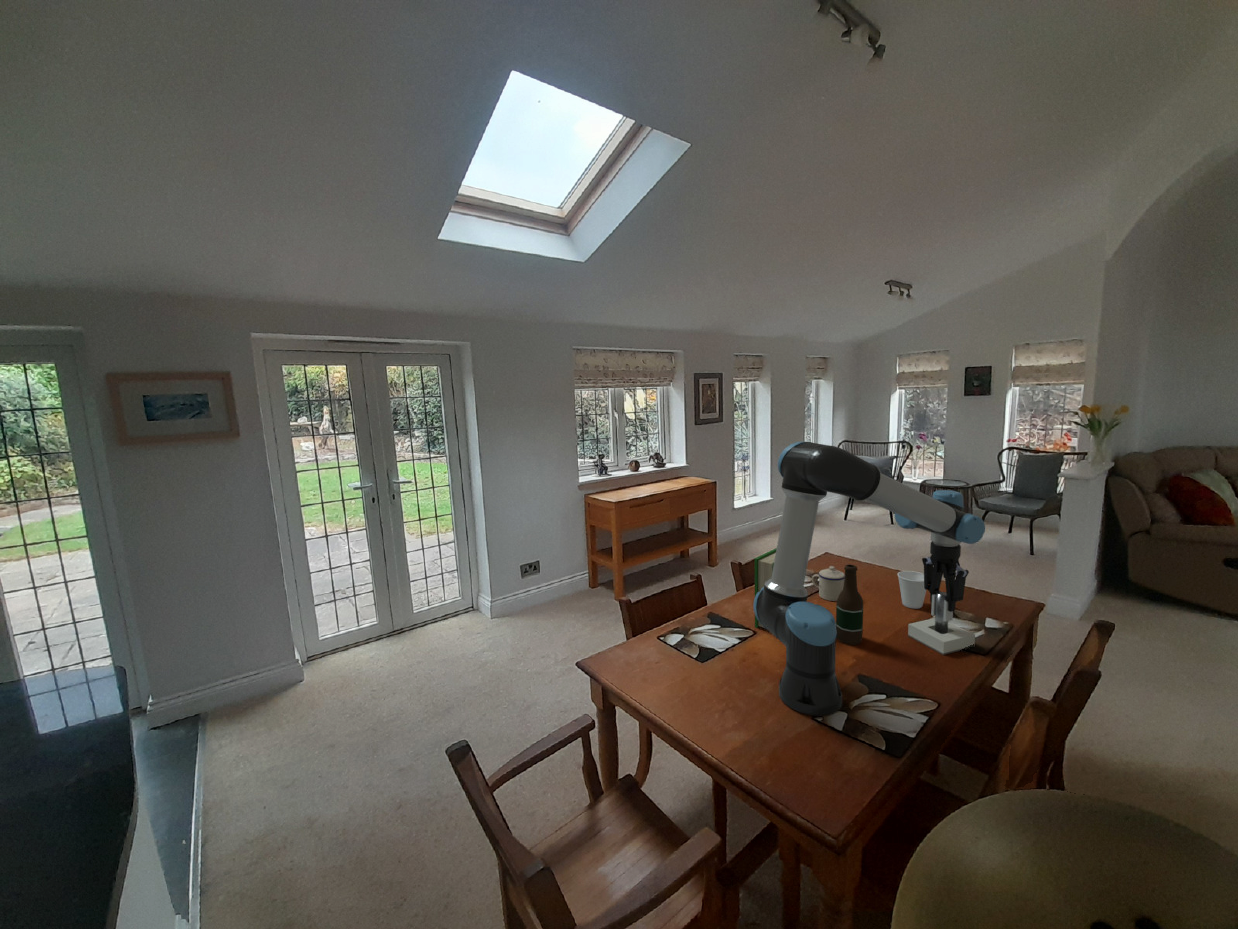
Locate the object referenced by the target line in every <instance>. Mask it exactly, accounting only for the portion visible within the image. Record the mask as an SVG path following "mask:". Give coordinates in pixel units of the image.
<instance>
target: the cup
mask: <svg viewBox="0 0 1238 929" xmlns="http://www.w3.org/2000/svg"><path fill="white" fill-rule="evenodd" d="M897 576H898V583H899V589H900V596H901V603H902V605H903V606H904V607H906V608H909V609H914V610H915V609H921V608H922V607H923V605H924V601H925V597H926V593H927V590H926V589H925V588H924V572H923V573H922V572H921V571H920V572H919V571H913V570H901V571H899V572H897Z"/></svg>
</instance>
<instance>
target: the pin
mask: <svg viewBox="0 0 1238 929" xmlns="http://www.w3.org/2000/svg"><path fill="white" fill-rule="evenodd" d="M945 599H947V593H946V591H941V592H936V609H935V616H934V618H935V629H934V630H935V631H936V632H938V633H940V634H946V633H948V622H949V621H946V622H945V621H943V617H944V600H945Z"/></svg>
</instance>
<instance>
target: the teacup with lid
mask: <svg viewBox="0 0 1238 929" xmlns="http://www.w3.org/2000/svg"><path fill="white" fill-rule="evenodd" d="M828 567H829V568H826V569H825V568H824V569H821V570H820V571H819V572H818V574H813V575H812V576H811V581H812V583H813V586H815V587H816V588H818V591H819V592H818V595H819V597H820V598H822V599H823V600H826V601H829V602H837V599H838V596H839V594H840V592H841V591H842V590H843V587H844V577H845V572H842V571H840V570H838V569H836V567H835V566H833V565H830V566H828ZM817 577H818V578H819V579H818V582H819V583H817V582H816V579H815V578H817Z"/></svg>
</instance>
